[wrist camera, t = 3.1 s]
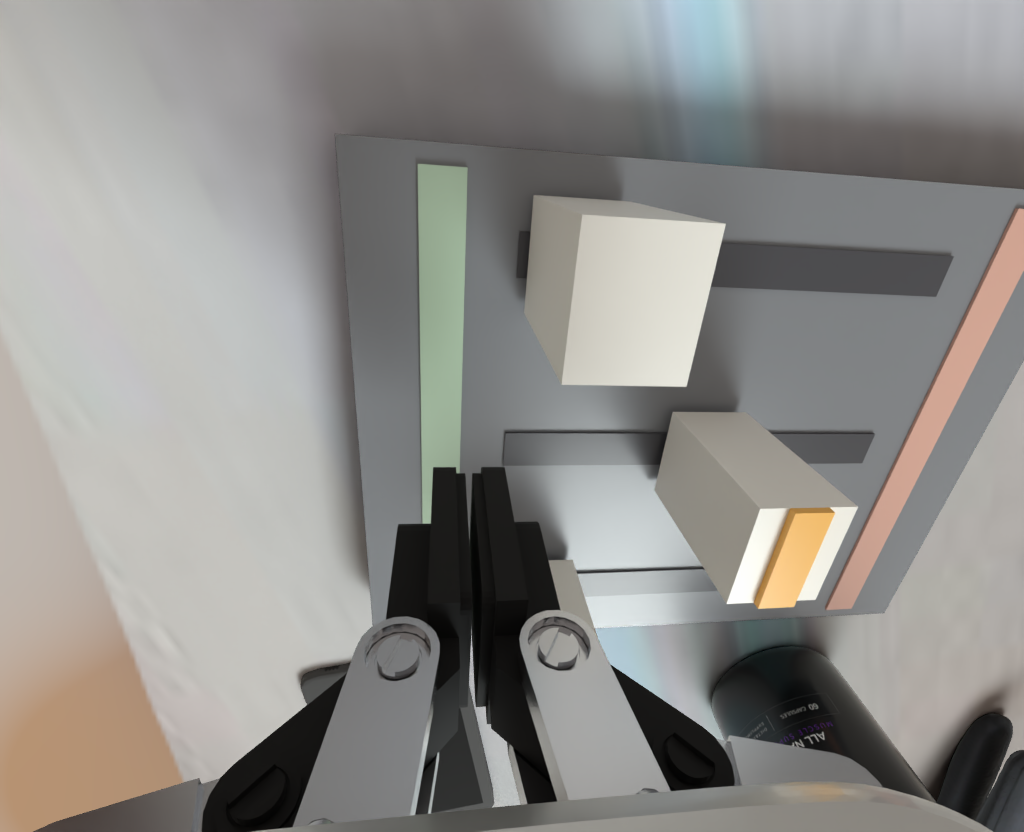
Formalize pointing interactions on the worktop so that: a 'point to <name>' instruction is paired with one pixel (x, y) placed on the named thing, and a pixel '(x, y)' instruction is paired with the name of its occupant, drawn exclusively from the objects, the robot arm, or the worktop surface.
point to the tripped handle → (750, 508)
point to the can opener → (986, 777)
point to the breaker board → (715, 368)
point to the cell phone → (459, 759)
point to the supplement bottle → (808, 713)
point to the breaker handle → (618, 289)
